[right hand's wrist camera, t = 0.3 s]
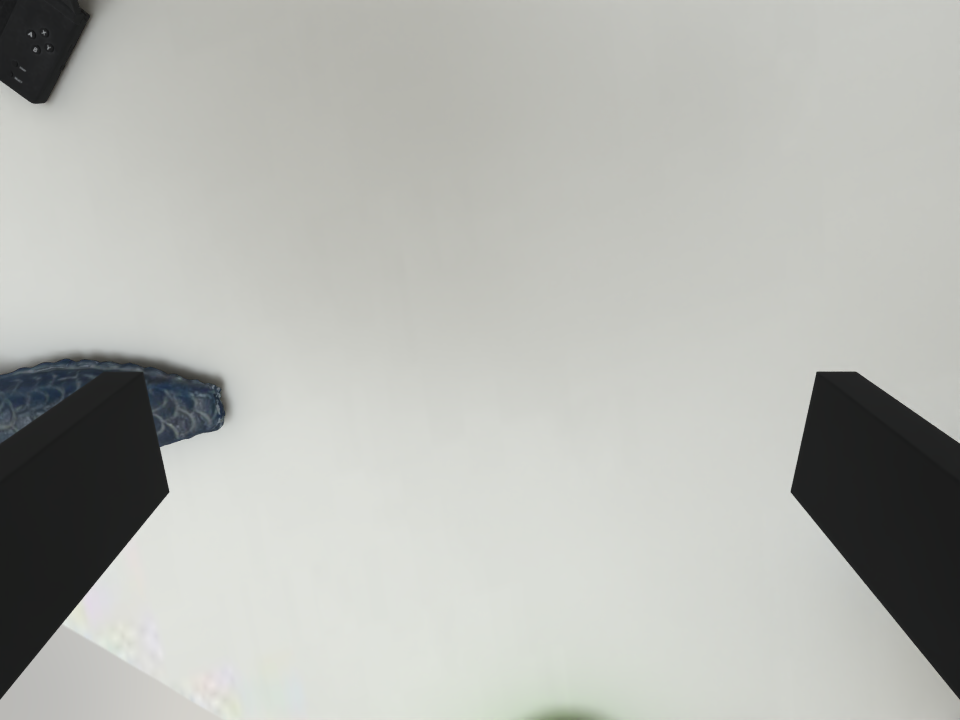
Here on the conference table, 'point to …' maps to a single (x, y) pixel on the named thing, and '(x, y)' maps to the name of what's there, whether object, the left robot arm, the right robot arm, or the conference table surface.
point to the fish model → (34, 391)
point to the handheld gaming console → (37, 43)
